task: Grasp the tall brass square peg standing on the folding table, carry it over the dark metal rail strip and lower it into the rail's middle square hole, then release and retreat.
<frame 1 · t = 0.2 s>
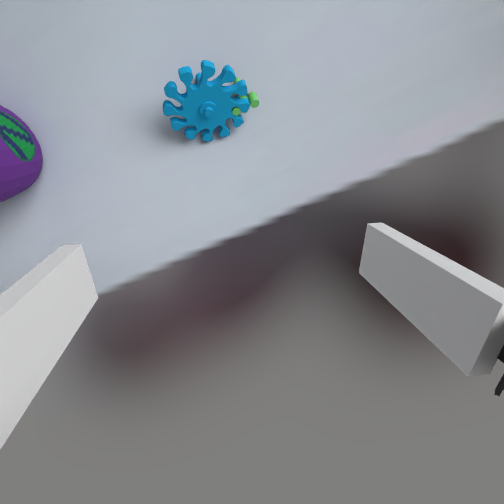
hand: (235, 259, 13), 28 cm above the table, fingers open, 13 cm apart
gear: (211, 108, 34), on the table
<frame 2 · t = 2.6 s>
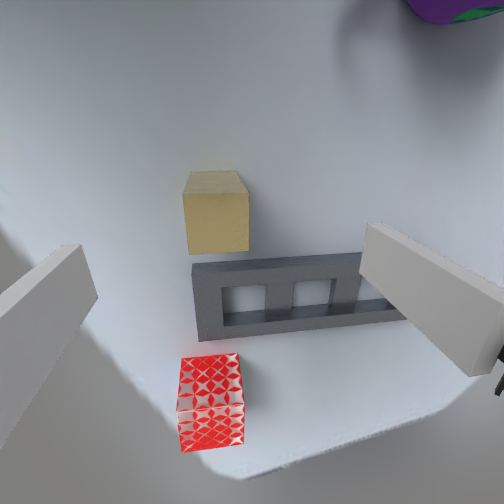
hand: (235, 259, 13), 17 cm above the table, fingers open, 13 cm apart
red patterned cube: (211, 373, 40), on the table
brass peg: (214, 193, 28), on the table
rail: (310, 288, 35), on the table
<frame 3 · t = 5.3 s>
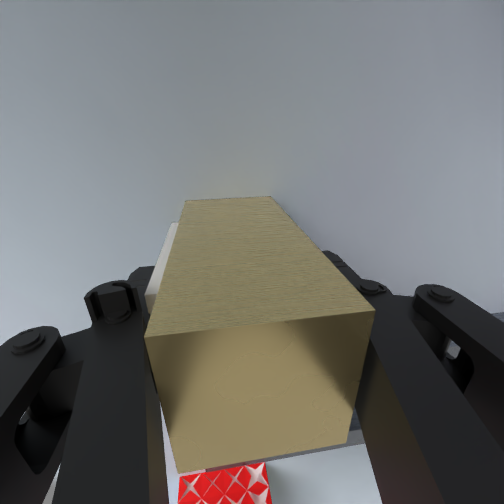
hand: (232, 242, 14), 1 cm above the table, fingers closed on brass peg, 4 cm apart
red patterned cube: (224, 487, 26), on the table
brass peg: (231, 237, 15), on the table, touching gripper
rail: (382, 371, 22), on the table
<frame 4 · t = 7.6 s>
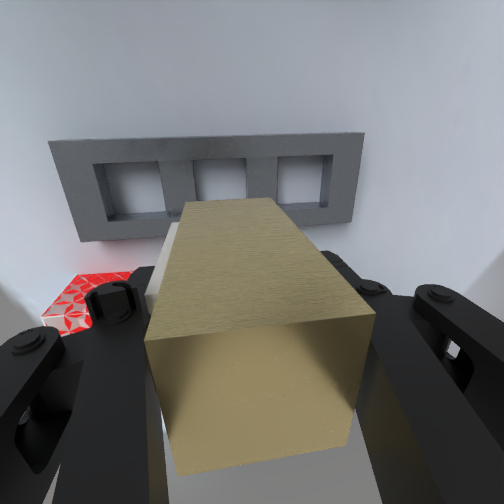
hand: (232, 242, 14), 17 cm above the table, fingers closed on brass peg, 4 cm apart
red patterned cube: (119, 298, 34), on the table
brass peg: (231, 238, 15), point 16 cm above the table, touching gripper
rail: (220, 183, 30), on the table
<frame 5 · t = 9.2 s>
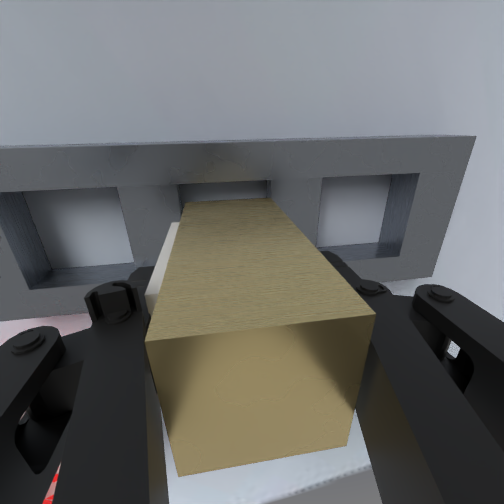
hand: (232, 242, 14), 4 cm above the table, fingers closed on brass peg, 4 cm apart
brass peg: (231, 239, 15), point 4 cm above the table, touching gripper
rail: (226, 217, 18), on the table
when the fingers open (3 cm above the table, at t = 10.1 s): brass peg drops 2 cm, resting in rail.
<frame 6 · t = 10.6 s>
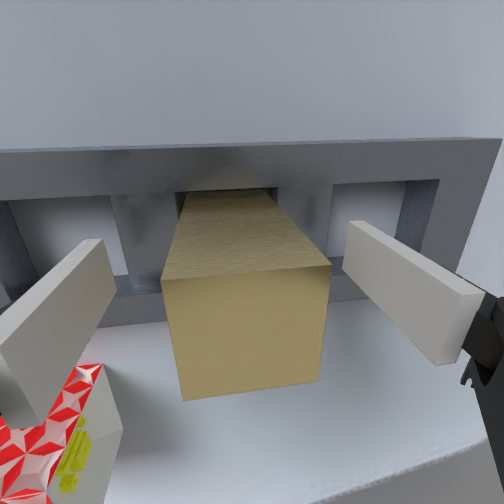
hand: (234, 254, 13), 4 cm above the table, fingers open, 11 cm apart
red patterned cube: (62, 402, 21), on the table
brass peg: (227, 226, 17), resting in rail
rail: (228, 226, 17), on the table
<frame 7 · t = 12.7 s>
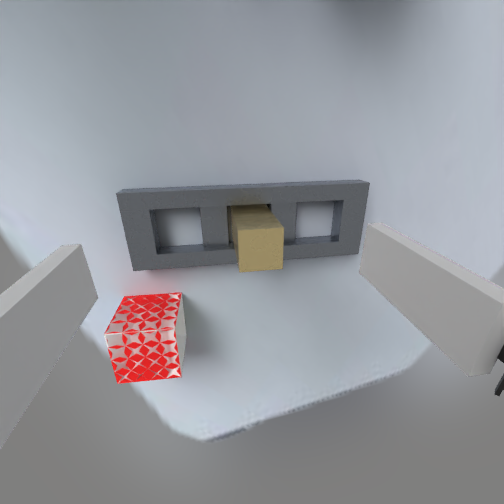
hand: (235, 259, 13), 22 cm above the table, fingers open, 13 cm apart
red patterned cube: (157, 315, 40), on the table
brass peg: (248, 221, 35), resting in rail
rail: (248, 221, 35), on the table
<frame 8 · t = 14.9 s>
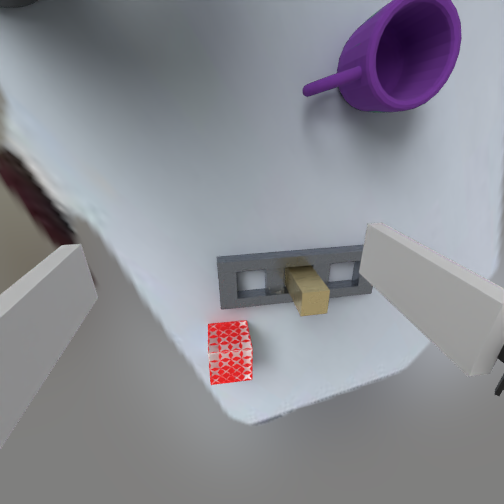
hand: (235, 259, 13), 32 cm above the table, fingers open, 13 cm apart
mug: (347, 77, 39), on the table
red patterned cube: (228, 336, 56), on the table
brass peg: (296, 272, 51), resting in rail
rail: (296, 272, 51), on the table
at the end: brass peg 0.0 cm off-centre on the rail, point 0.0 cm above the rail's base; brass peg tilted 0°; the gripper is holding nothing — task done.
